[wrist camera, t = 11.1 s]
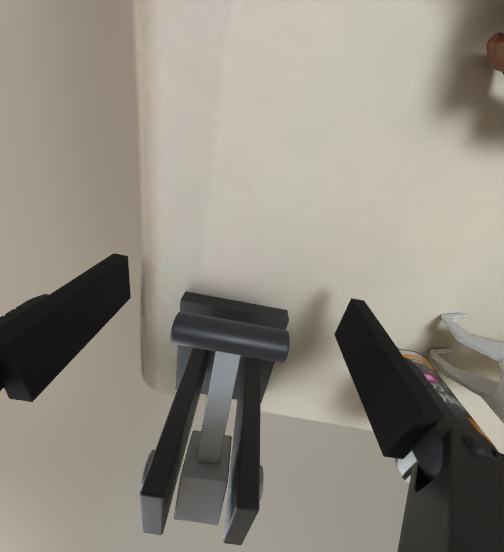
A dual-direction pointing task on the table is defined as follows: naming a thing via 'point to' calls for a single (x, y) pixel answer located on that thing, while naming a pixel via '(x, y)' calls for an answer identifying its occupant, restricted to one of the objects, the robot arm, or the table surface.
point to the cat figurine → (495, 394)
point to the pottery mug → (496, 51)
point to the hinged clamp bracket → (174, 437)
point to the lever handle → (217, 406)
